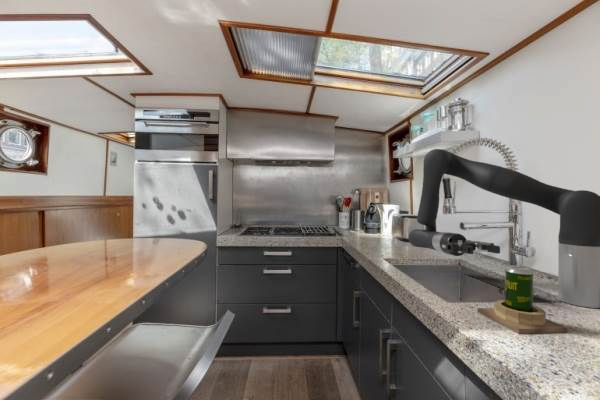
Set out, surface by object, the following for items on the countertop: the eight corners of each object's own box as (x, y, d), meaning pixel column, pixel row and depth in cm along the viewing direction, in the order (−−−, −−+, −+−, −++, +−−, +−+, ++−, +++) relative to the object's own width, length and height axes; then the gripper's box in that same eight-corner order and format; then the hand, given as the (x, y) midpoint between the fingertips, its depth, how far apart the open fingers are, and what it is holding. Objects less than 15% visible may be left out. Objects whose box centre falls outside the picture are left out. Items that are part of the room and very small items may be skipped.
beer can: (518, 312, 70) (518, 265, 70) (538, 321, 64) (539, 270, 65) (499, 312, 69) (499, 265, 70) (518, 321, 64) (518, 270, 64)
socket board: (518, 311, 73) (518, 298, 73) (567, 331, 61) (567, 316, 62) (477, 312, 72) (477, 298, 72) (518, 333, 60) (519, 317, 60)
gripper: (429, 232, 95) (462, 237, 79) (467, 232, 97) (507, 236, 81) (430, 254, 95) (463, 263, 79) (467, 253, 96) (508, 262, 80)
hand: (485, 250), depth 80 cm, fingers open, 8 cm apart
